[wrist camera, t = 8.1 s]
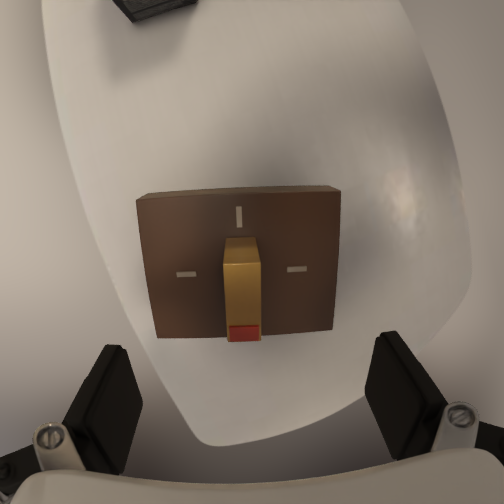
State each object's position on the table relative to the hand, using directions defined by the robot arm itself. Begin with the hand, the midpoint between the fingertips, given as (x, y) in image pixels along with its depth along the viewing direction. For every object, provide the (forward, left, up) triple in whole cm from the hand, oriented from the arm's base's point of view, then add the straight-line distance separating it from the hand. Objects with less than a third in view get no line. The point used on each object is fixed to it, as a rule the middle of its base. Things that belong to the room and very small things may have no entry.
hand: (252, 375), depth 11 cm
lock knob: (0, +1, -12) cm, 12 cm away
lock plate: (0, +1, -15) cm, 15 cm away
